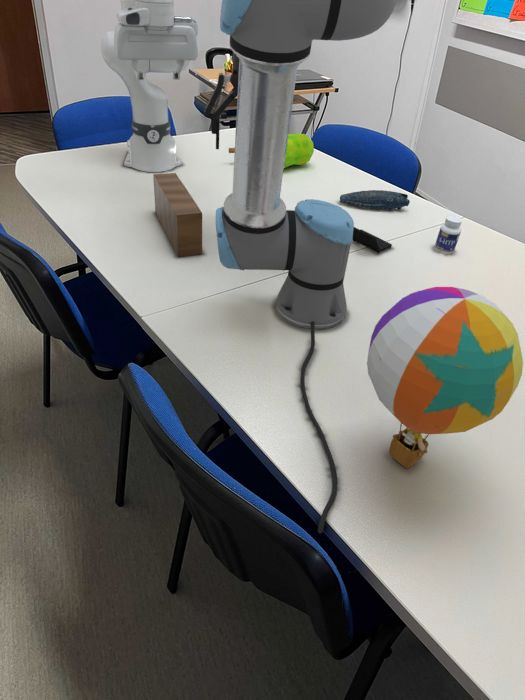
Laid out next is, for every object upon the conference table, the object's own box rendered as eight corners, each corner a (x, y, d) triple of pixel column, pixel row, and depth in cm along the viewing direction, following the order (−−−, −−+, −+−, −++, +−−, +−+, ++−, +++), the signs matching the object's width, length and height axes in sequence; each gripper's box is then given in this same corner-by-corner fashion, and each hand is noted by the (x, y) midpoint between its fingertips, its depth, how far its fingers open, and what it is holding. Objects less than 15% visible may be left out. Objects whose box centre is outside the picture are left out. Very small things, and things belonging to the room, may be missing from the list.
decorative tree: (225, 127, 180) (309, 126, 185) (225, 157, 186) (306, 156, 192) (232, 143, 166) (322, 142, 172) (232, 175, 173) (319, 173, 178)
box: (202, 254, 129) (202, 212, 122) (178, 257, 127) (176, 214, 120) (176, 211, 147) (175, 172, 140) (155, 212, 145) (153, 174, 138)
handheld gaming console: (396, 239, 139) (388, 216, 131) (384, 261, 138) (375, 240, 130) (358, 230, 145) (348, 208, 137) (347, 252, 144) (336, 231, 136)
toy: (317, 448, 82) (351, 286, 63) (393, 397, 93) (442, 246, 74) (418, 536, 71) (496, 372, 52) (491, 467, 82) (578, 310, 63)
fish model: (408, 214, 157) (412, 198, 153) (339, 207, 158) (341, 191, 154) (406, 206, 162) (410, 190, 159) (339, 199, 163) (341, 183, 160)
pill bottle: (433, 251, 139) (442, 220, 133) (435, 243, 143) (444, 213, 137) (453, 256, 138) (464, 225, 132) (454, 247, 142) (465, 217, 136)
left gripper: (194, 15, 129) (194, 76, 138) (110, 12, 123) (116, 76, 131) (201, 19, 125) (201, 82, 133) (114, 16, 118) (120, 82, 127)
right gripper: (302, 52, 120) (292, 146, 133) (193, 44, 117) (194, 141, 130) (307, 58, 114) (296, 156, 127) (193, 50, 111) (193, 151, 124)
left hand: (158, 79), depth 132 cm, fingers open, 8 cm apart
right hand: (244, 149), depth 129 cm, fingers open, 13 cm apart
